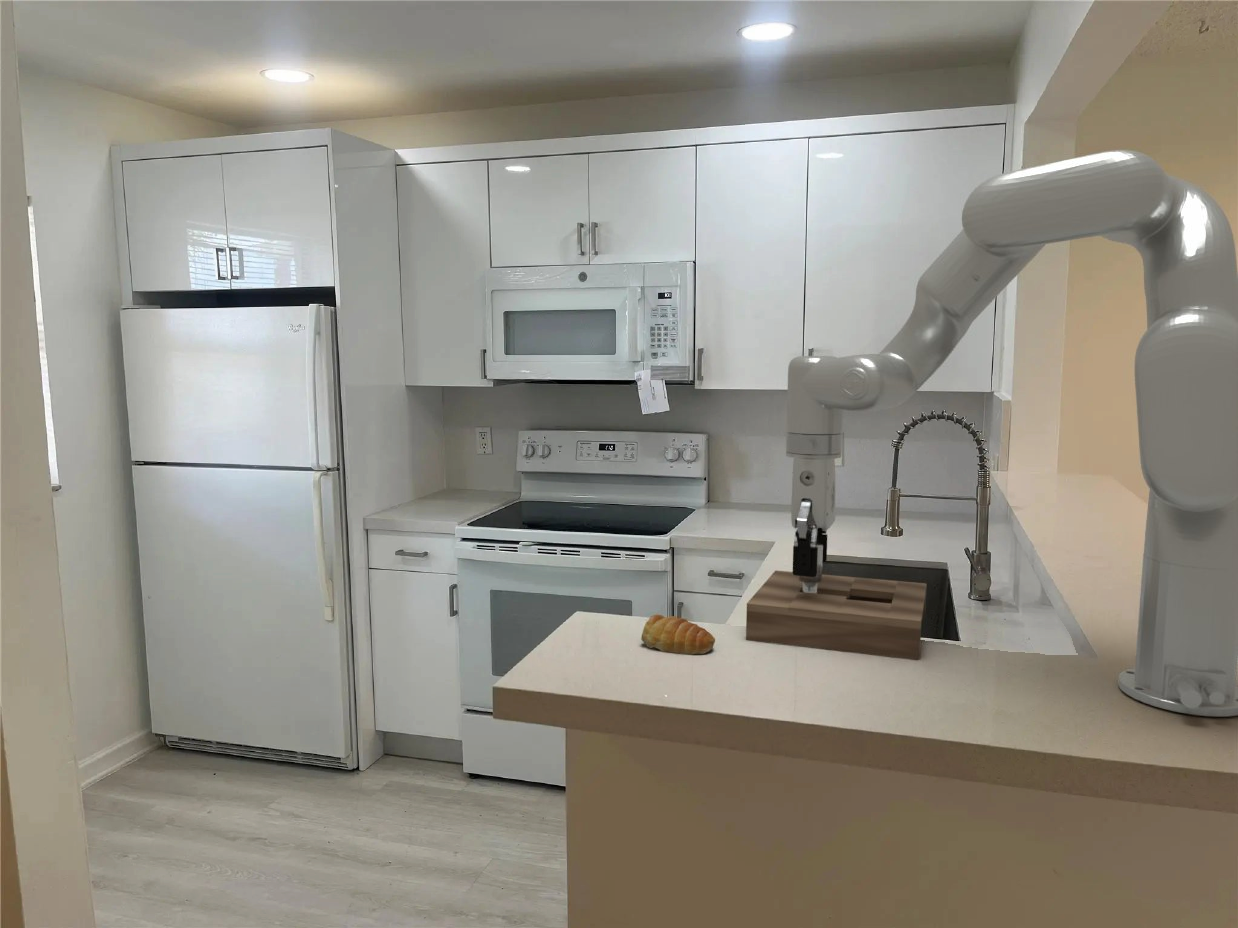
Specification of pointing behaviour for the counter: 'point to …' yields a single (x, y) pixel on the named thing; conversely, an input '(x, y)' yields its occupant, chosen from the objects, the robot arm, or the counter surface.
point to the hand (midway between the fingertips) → (810, 567)
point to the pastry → (676, 635)
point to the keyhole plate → (839, 614)
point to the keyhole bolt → (811, 582)
